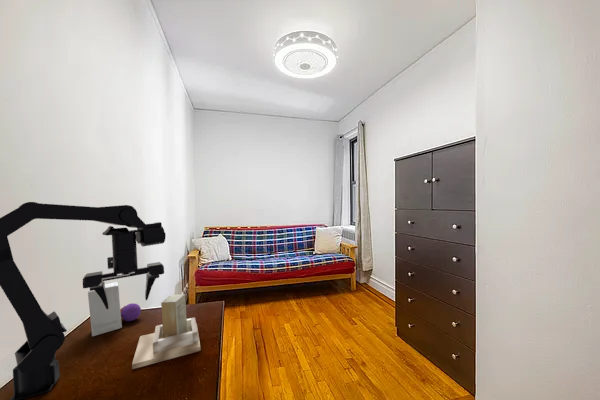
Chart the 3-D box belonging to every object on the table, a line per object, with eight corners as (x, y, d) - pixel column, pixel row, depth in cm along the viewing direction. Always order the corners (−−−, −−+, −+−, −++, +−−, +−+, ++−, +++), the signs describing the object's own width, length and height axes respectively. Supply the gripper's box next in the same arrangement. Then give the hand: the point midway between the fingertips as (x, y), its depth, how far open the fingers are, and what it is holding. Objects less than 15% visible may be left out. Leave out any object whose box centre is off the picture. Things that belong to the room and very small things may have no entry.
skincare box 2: (173, 334, 80) (171, 294, 80) (188, 333, 80) (185, 293, 80) (162, 345, 73) (160, 302, 73) (178, 345, 73) (175, 301, 73)
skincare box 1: (121, 322, 93) (119, 280, 93) (122, 328, 88) (119, 284, 88) (90, 330, 88) (88, 286, 88) (90, 337, 83) (87, 290, 83)
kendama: (115, 300, 105) (145, 302, 96) (113, 315, 104) (143, 319, 95) (98, 302, 100) (128, 305, 91) (96, 319, 99) (126, 323, 90)
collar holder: (132, 369, 65) (131, 352, 65) (140, 340, 80) (139, 326, 80) (200, 350, 72) (199, 335, 72) (196, 326, 86) (196, 314, 86)
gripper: (158, 242, 86) (160, 289, 86) (85, 250, 76) (88, 304, 76) (163, 245, 77) (165, 298, 77) (80, 256, 67) (84, 317, 66)
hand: (127, 304), depth 74 cm, fingers open, 9 cm apart
